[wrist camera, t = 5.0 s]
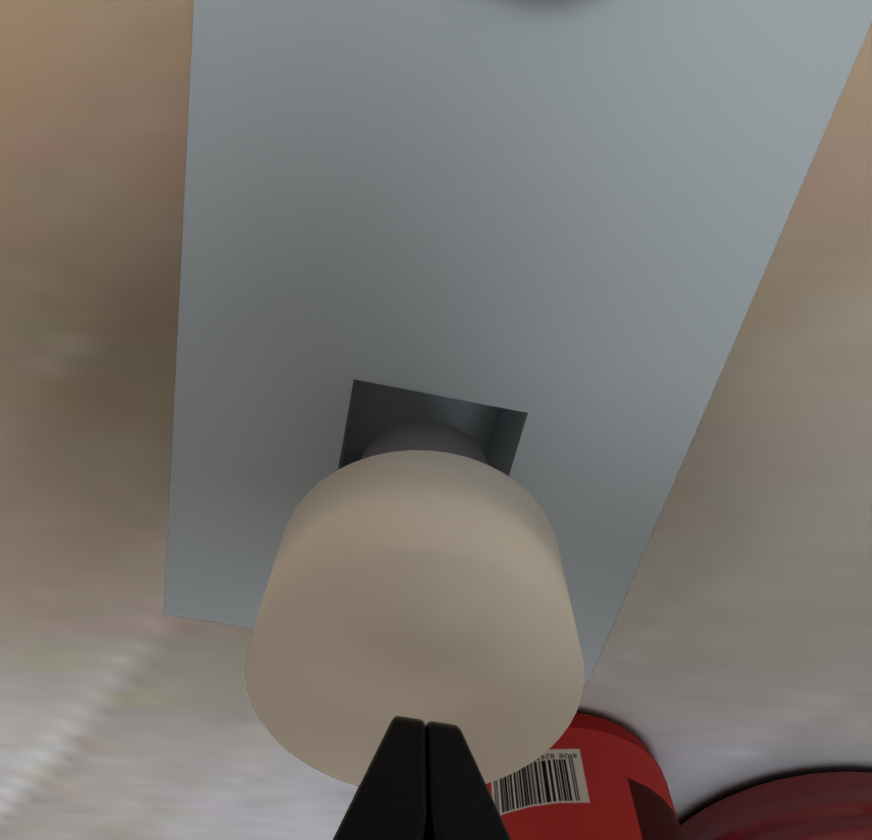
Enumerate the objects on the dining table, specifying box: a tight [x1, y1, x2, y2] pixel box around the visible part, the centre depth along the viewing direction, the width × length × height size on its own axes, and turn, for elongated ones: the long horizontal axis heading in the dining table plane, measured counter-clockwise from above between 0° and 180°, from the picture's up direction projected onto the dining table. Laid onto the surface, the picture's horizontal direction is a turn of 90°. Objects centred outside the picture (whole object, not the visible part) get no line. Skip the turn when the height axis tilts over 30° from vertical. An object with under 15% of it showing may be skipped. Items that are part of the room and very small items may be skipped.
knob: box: [245, 421, 585, 786], centre depth 12 cm, size 5×5×5 cm
